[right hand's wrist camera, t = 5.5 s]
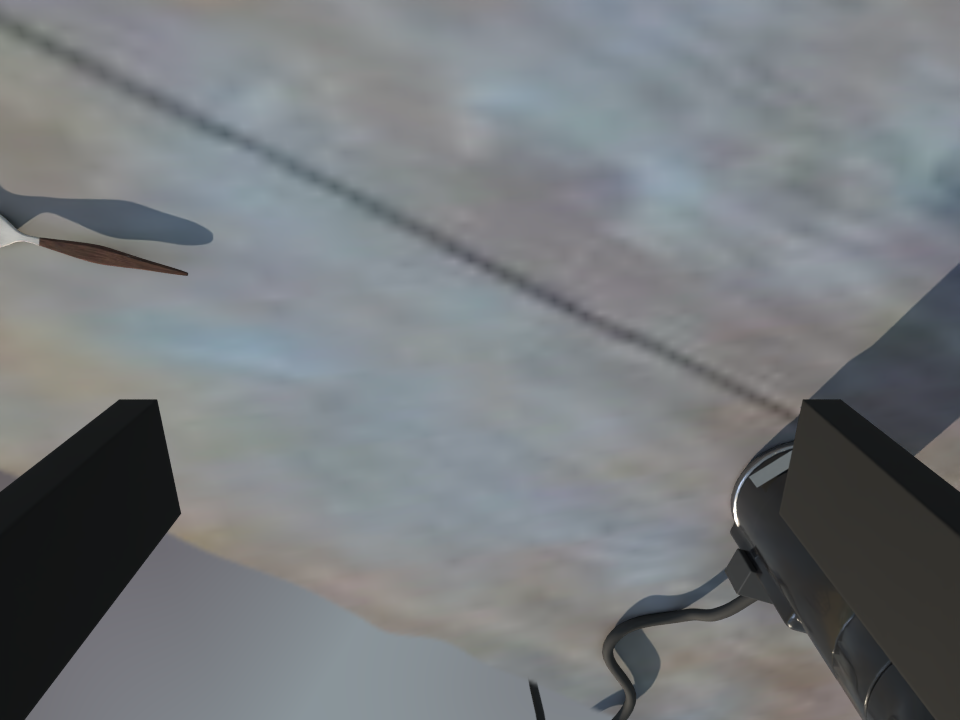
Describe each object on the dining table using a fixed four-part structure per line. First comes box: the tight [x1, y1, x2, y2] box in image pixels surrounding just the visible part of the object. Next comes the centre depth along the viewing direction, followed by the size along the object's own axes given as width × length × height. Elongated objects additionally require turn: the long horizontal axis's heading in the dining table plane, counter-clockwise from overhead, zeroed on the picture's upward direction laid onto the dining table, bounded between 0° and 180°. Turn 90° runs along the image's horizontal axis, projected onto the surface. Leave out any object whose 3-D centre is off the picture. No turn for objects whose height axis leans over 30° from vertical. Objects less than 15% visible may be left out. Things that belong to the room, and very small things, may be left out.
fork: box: [0, 214, 188, 276], centre depth 38 cm, size 3×16×2 cm, turn 77°
